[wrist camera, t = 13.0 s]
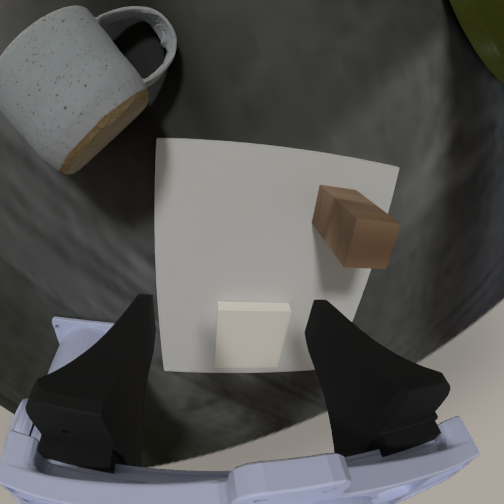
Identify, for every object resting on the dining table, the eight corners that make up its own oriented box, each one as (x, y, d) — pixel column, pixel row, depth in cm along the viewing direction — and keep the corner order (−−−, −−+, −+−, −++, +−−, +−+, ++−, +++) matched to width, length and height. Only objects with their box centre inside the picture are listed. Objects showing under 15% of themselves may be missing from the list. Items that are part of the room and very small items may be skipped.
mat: (331, 365, 32) (332, 368, 32) (164, 367, 29) (164, 370, 29) (396, 166, 22) (399, 167, 22) (157, 137, 19) (156, 138, 19)
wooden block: (347, 226, 23) (385, 269, 18) (311, 222, 23) (343, 267, 17) (356, 189, 22) (400, 224, 16) (319, 184, 22) (357, 219, 16)
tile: (288, 302, 26) (274, 357, 29) (217, 300, 25) (213, 357, 29) (291, 311, 25) (277, 367, 28) (218, 310, 24) (214, 367, 27)
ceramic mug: (91, 168, 19) (42, 203, 13) (28, 94, 16) (-37, 102, 9) (206, 65, 17) (205, 45, 11) (135, -11, 14) (103, -55, 7)
